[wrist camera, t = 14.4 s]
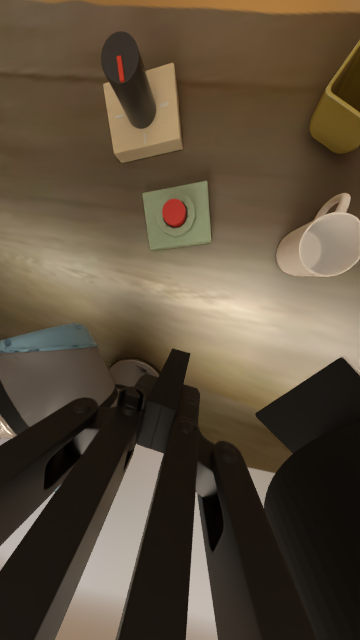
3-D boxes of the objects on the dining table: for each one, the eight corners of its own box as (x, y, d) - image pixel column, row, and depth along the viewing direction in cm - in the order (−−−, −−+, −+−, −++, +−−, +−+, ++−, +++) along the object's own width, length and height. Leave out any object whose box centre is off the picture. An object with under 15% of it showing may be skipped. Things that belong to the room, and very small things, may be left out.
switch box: (152, 251, 39) (146, 248, 36) (145, 197, 37) (138, 188, 33) (211, 243, 37) (211, 239, 34) (207, 186, 35) (207, 175, 31)
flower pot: (333, 81, 29) (385, 1, 21) (379, 114, 29) (449, 48, 21) (292, 140, 32) (323, 91, 23) (334, 171, 32) (381, 133, 23)
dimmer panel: (121, 163, 36) (113, 153, 33) (111, 99, 34) (102, 82, 31) (182, 149, 34) (180, 137, 31) (176, 80, 32) (173, 60, 29)
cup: (267, 269, 37) (289, 267, 27) (294, 202, 34) (328, 172, 24) (310, 281, 36) (347, 283, 27) (341, 213, 33) (396, 188, 23)
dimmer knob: (125, 96, 31) (96, 35, 23) (154, 87, 30) (134, 21, 22) (129, 132, 32) (103, 85, 24) (158, 125, 32) (140, 74, 24)
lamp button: (165, 228, 35) (163, 226, 33) (163, 204, 34) (160, 200, 32) (187, 225, 34) (186, 222, 32) (185, 200, 33) (184, 196, 31)
